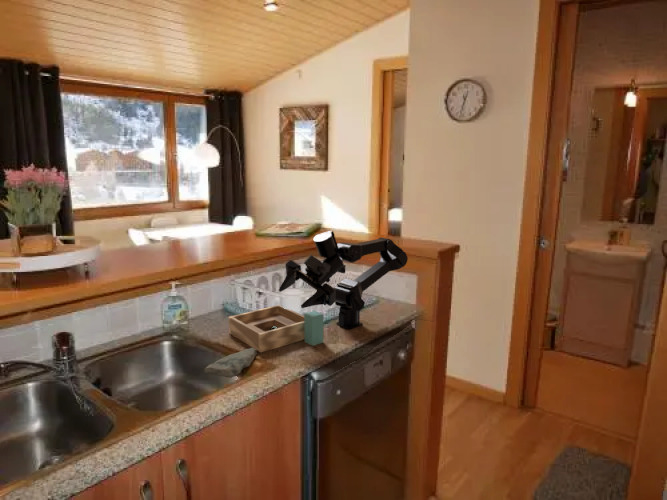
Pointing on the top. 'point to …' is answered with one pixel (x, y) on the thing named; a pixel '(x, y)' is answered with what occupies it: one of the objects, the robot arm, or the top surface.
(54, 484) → the top surface
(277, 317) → the box
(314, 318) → the peg
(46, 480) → the top surface
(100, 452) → the top surface
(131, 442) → the top surface
